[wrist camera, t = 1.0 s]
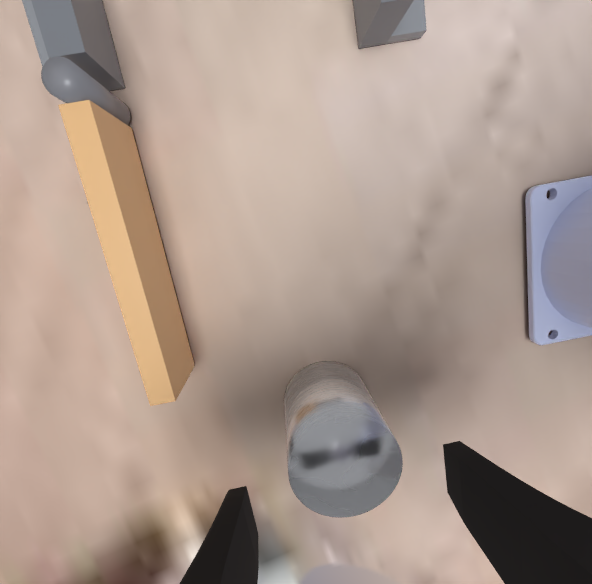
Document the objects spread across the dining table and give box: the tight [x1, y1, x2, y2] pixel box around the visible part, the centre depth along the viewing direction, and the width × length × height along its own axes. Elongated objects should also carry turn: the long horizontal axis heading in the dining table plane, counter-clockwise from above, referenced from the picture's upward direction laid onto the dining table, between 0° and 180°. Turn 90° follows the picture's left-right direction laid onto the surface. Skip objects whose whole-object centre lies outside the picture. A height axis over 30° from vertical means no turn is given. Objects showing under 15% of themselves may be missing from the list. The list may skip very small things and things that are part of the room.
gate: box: [41, 56, 195, 406], centre depth 13 cm, size 12×1×4 cm, turn 10°
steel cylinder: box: [284, 361, 402, 517], centre depth 15 cm, size 4×4×5 cm
